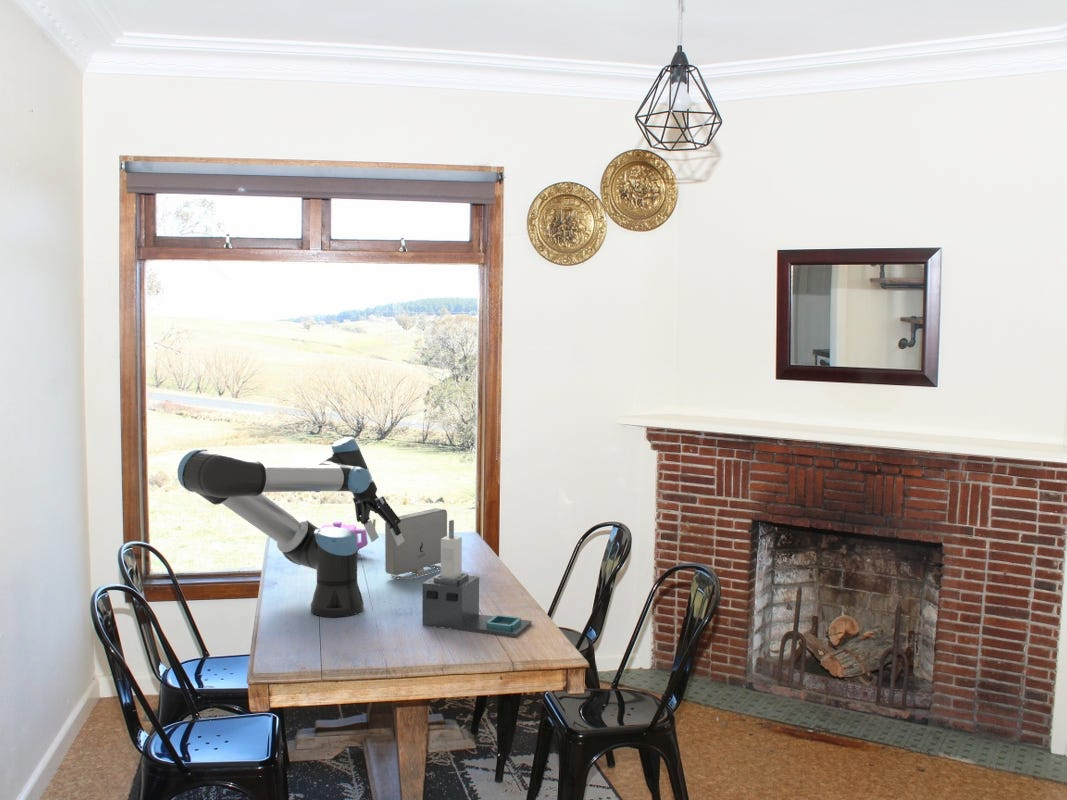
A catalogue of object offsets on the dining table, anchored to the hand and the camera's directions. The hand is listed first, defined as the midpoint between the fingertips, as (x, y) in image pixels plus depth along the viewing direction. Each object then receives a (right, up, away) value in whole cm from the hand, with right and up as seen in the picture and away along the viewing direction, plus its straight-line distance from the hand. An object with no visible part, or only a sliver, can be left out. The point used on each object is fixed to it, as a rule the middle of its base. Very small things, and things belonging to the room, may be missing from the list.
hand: (387, 541), depth 316 cm
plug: (+23, -6, -37) cm, 44 cm away
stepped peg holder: (+31, -18, -38) cm, 52 cm away
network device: (+7, -13, +16) cm, 22 cm away
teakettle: (-24, -11, +37) cm, 45 cm away
